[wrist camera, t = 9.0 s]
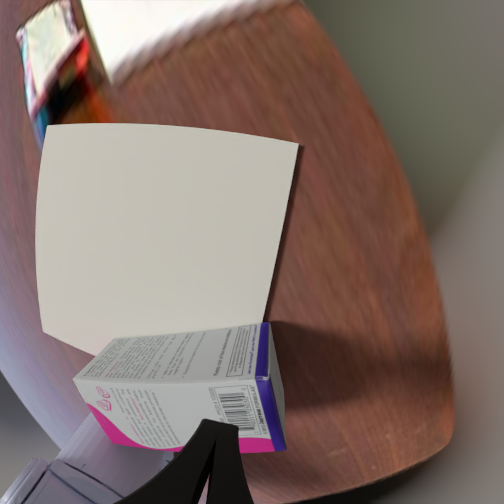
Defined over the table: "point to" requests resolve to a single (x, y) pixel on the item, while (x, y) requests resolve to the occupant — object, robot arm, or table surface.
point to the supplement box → (188, 388)
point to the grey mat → (156, 229)
